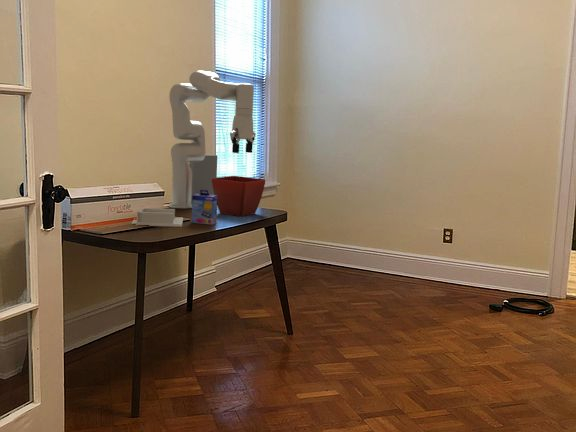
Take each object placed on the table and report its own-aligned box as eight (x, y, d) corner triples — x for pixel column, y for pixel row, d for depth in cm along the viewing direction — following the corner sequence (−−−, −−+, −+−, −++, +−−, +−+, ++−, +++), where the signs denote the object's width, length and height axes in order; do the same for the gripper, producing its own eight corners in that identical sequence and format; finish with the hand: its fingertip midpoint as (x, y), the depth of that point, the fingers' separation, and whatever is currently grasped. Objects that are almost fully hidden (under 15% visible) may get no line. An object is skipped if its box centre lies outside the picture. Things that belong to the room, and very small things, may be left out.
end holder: (136, 218, 250) (136, 207, 249) (183, 219, 253) (183, 208, 252) (131, 225, 235) (131, 213, 234) (181, 226, 238) (182, 214, 237)
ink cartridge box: (190, 223, 247) (191, 189, 244) (194, 221, 252) (195, 188, 250) (213, 225, 245) (214, 191, 243) (216, 222, 251) (217, 189, 249)
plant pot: (243, 218, 265) (244, 182, 262) (209, 213, 274) (210, 178, 271) (264, 213, 281) (266, 179, 278) (232, 209, 290) (233, 175, 287)
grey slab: (211, 200, 315) (212, 154, 311) (216, 202, 310) (217, 155, 306) (187, 201, 308) (188, 154, 304) (192, 203, 303) (193, 155, 299)
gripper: (248, 113, 259) (247, 151, 262) (224, 111, 244) (223, 152, 247) (262, 114, 255) (260, 152, 258) (238, 112, 240) (237, 153, 243)
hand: (242, 152), depth 252 cm, fingers open, 9 cm apart
